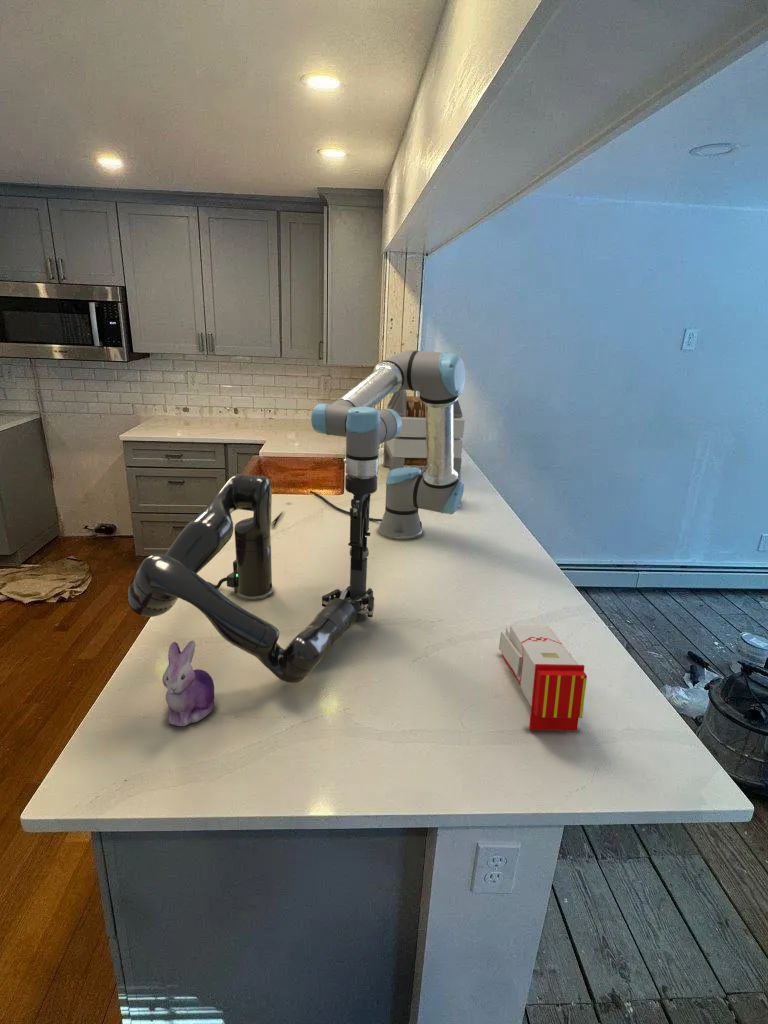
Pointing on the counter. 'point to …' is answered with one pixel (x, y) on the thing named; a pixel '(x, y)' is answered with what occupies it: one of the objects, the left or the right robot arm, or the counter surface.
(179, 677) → the figurine
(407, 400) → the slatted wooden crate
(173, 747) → the counter surface
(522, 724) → the counter surface
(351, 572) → the dark gray cylinder
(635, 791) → the counter surface
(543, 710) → the toy
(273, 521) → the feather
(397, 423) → the right robot arm
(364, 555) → the lid
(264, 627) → the left robot arm
